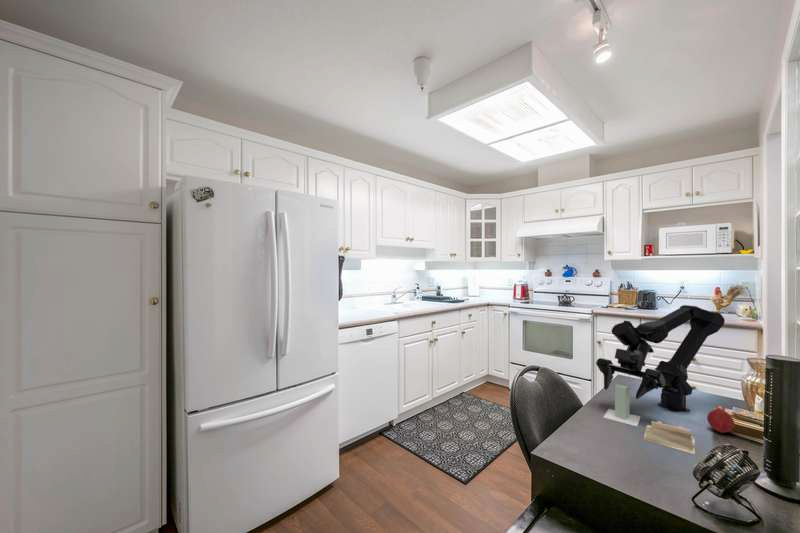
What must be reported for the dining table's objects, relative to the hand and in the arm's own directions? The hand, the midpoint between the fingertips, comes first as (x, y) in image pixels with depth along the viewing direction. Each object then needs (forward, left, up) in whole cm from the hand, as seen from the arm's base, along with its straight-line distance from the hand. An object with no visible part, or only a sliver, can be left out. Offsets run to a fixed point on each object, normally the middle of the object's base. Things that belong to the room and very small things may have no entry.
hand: (620, 393), depth 108 cm
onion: (-24, +10, -9) cm, 27 cm away
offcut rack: (-5, +13, -8) cm, 16 cm away
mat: (-1, -1, -8) cm, 9 cm away
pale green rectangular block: (-1, -1, -8) cm, 8 cm away
